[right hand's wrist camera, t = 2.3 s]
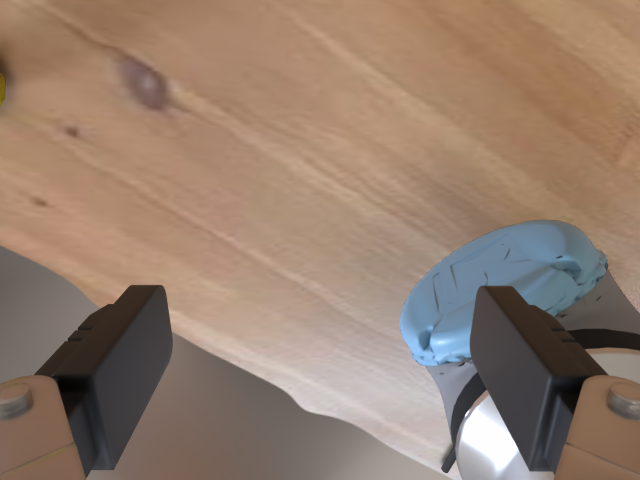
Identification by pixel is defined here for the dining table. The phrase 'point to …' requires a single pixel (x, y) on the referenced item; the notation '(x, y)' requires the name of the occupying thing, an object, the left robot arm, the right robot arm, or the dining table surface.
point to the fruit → (2, 88)
